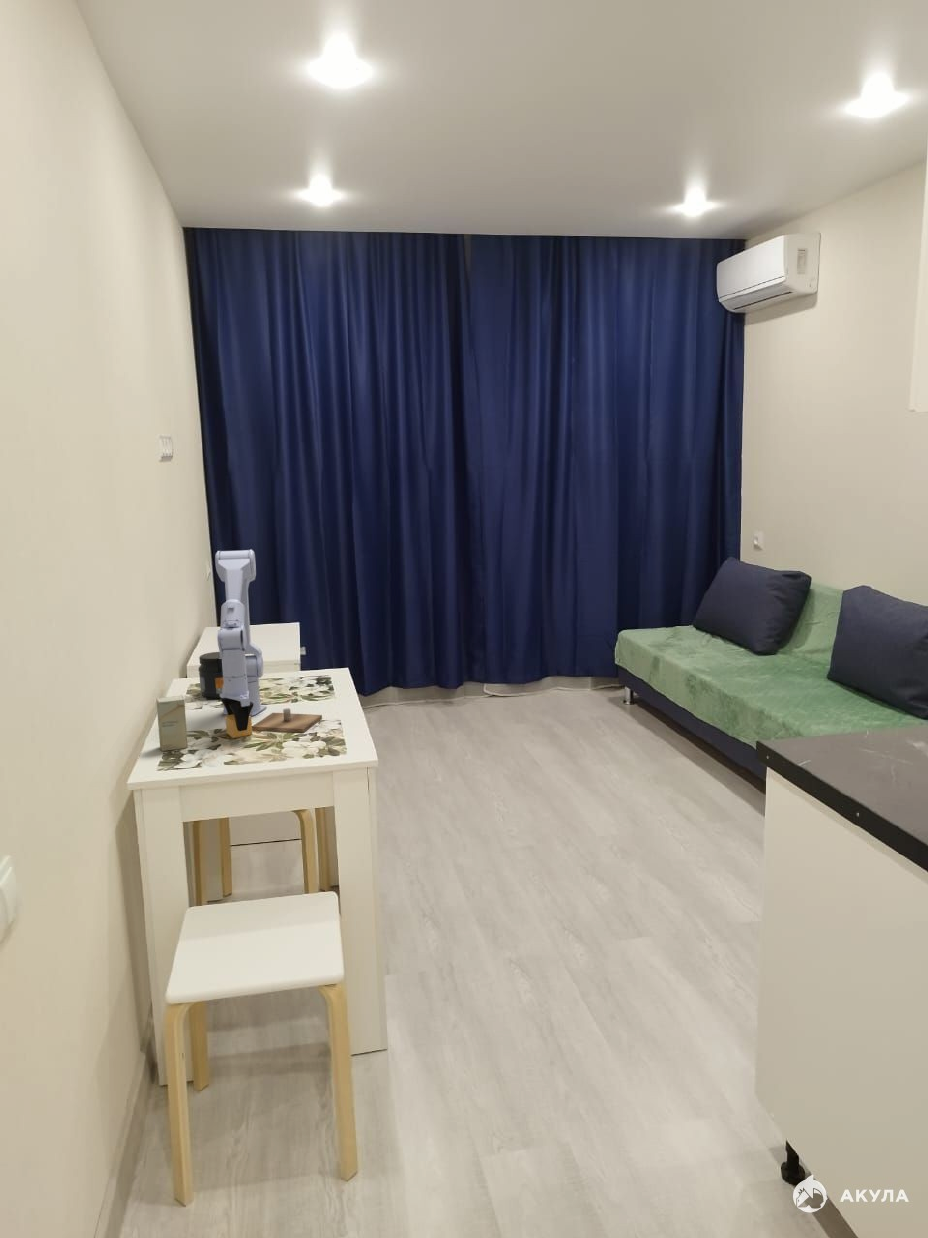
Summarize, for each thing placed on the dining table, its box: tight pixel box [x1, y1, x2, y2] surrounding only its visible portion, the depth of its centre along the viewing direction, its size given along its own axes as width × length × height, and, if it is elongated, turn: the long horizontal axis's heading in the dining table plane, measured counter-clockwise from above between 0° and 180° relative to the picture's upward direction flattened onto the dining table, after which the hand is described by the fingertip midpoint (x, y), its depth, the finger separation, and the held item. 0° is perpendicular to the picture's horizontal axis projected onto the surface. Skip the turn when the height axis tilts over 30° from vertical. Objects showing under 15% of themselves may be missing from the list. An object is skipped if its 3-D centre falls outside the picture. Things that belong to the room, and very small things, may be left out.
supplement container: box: [198, 651, 224, 700], centre depth 260 cm, size 10×10×12 cm
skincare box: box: [155, 694, 189, 752], centre depth 215 cm, size 6×4×12 cm
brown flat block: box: [252, 708, 323, 734], centre depth 231 cm, size 14×12×4 cm
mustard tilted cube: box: [224, 714, 253, 739], centre depth 224 cm, size 5×5×4 cm
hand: (239, 727), depth 224 cm, fingers closed on mustard tilted cube, 5 cm apart
